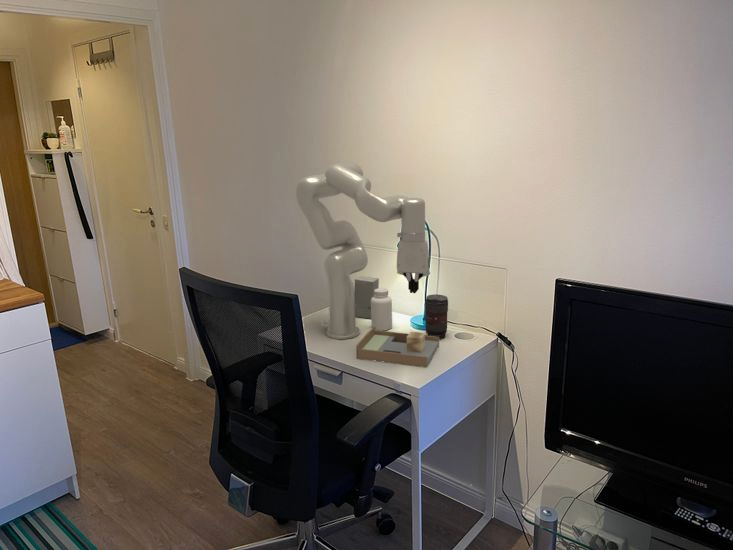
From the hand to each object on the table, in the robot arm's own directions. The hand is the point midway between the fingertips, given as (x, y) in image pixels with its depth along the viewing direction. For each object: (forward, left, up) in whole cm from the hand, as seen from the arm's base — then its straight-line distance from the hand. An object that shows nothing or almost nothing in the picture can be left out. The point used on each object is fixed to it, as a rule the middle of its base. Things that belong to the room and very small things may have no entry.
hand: (413, 291), depth 185 cm
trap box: (-5, 0, -22) cm, 23 cm away
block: (+1, 0, -20) cm, 20 cm away
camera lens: (+4, +18, -22) cm, 29 cm away
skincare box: (-28, +32, -22) cm, 48 cm away
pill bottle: (-18, +21, -22) cm, 36 cm away
